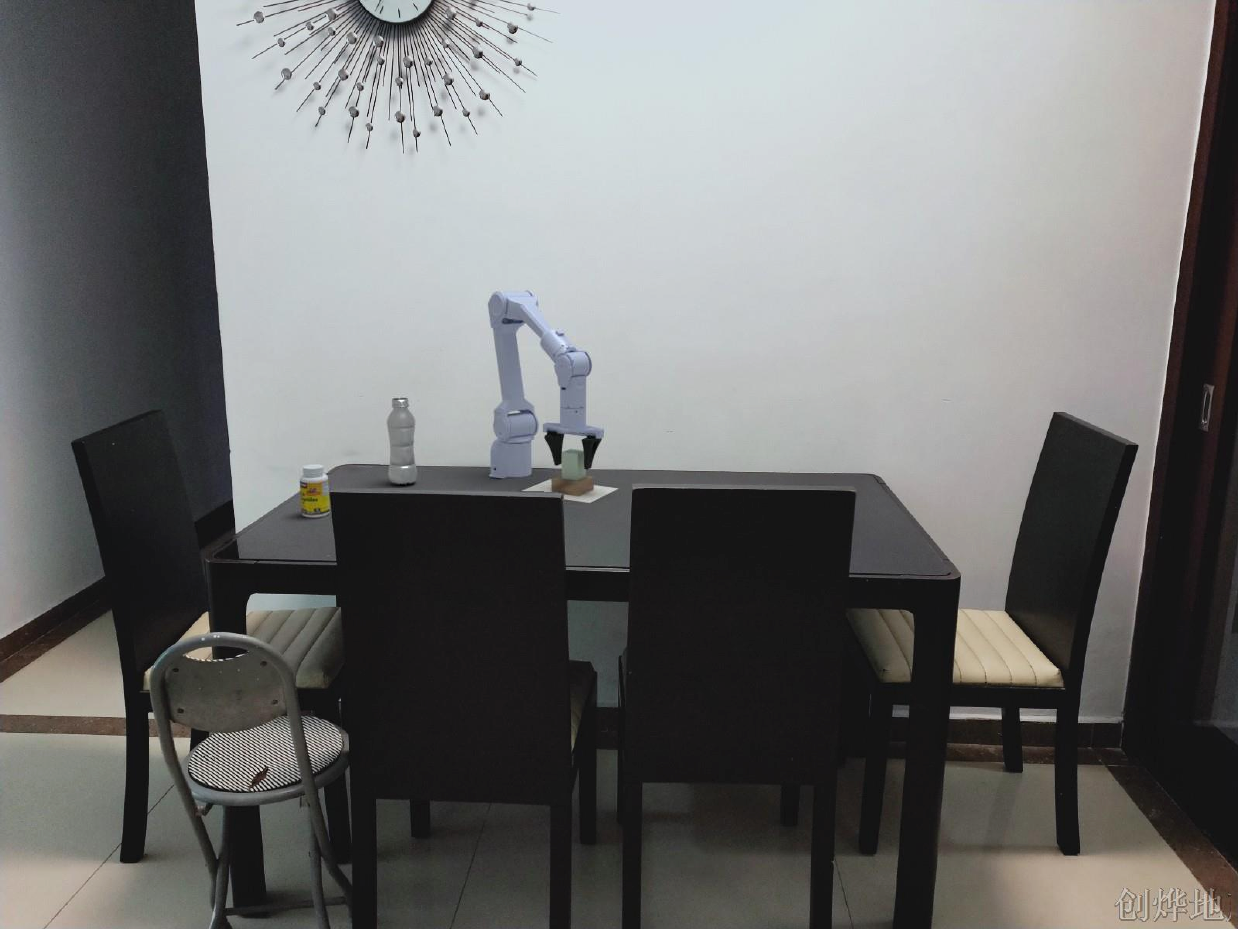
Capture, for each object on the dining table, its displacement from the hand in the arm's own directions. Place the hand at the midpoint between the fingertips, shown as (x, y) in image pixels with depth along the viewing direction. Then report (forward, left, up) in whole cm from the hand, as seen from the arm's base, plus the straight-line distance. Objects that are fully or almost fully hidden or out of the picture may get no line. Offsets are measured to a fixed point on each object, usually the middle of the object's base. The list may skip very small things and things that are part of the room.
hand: (572, 466), depth 211 cm
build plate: (-1, 0, -6) cm, 6 cm away
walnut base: (0, 0, -6) cm, 6 cm away
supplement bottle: (-38, -40, -7) cm, 56 cm away
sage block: (0, 0, -3) cm, 3 cm away
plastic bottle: (-39, -11, -7) cm, 41 cm away
